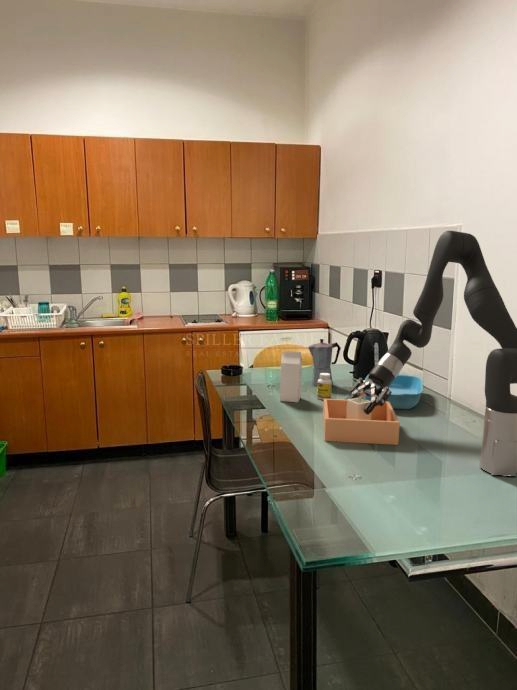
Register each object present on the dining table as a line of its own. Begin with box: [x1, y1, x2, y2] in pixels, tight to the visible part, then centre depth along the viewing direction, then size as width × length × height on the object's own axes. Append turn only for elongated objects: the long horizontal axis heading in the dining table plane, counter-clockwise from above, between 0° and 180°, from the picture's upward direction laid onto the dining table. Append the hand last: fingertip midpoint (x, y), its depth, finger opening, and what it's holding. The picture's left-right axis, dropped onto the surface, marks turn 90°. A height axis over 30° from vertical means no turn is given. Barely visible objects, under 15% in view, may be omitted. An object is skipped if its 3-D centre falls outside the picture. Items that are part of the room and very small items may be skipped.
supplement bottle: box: [316, 373, 333, 401], centre depth 208 cm, size 5×5×10 cm
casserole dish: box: [364, 373, 424, 410], centre depth 209 cm, size 37×22×7 cm, turn 163°
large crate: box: [322, 398, 401, 446], centre depth 172 cm, size 22×22×7 cm
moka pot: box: [307, 338, 341, 387], centre depth 227 cm, size 10×15×20 cm, turn 115°
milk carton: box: [279, 350, 303, 403], centre depth 204 cm, size 7×7×19 cm
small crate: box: [346, 396, 371, 420], centre depth 171 cm, size 6×6×9 cm
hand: (356, 409), depth 171 cm, fingers open, 8 cm apart
